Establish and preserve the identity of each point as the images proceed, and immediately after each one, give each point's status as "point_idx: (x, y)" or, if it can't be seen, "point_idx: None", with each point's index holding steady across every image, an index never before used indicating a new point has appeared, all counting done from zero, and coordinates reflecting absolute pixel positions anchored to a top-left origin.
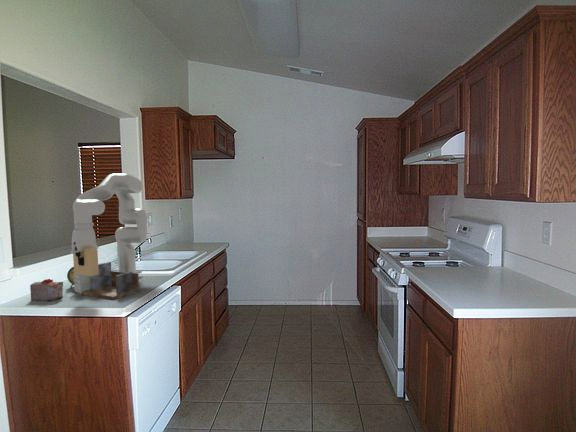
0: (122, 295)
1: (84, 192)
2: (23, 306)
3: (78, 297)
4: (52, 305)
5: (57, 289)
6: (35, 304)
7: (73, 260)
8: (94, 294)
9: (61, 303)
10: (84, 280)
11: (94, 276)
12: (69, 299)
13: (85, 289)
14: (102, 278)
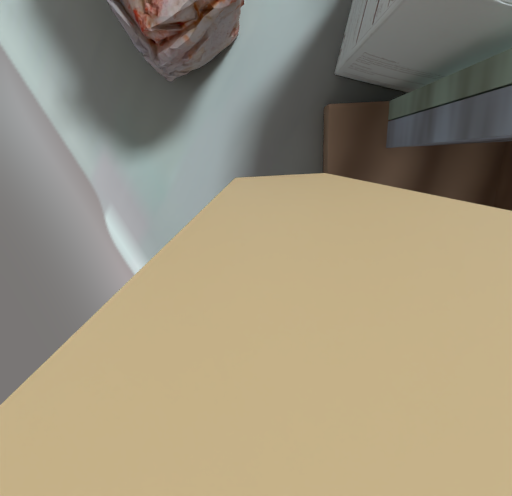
0: None
1: None
2: (7, 12)
3: (275, 142)
4: (119, 160)
5: (166, 65)
6: (69, 41)
7: (217, 195)
8: None
9: (164, 168)
10: (398, 52)
11: (444, 135)
12: (228, 133)
13: (369, 76)
14: (489, 140)
